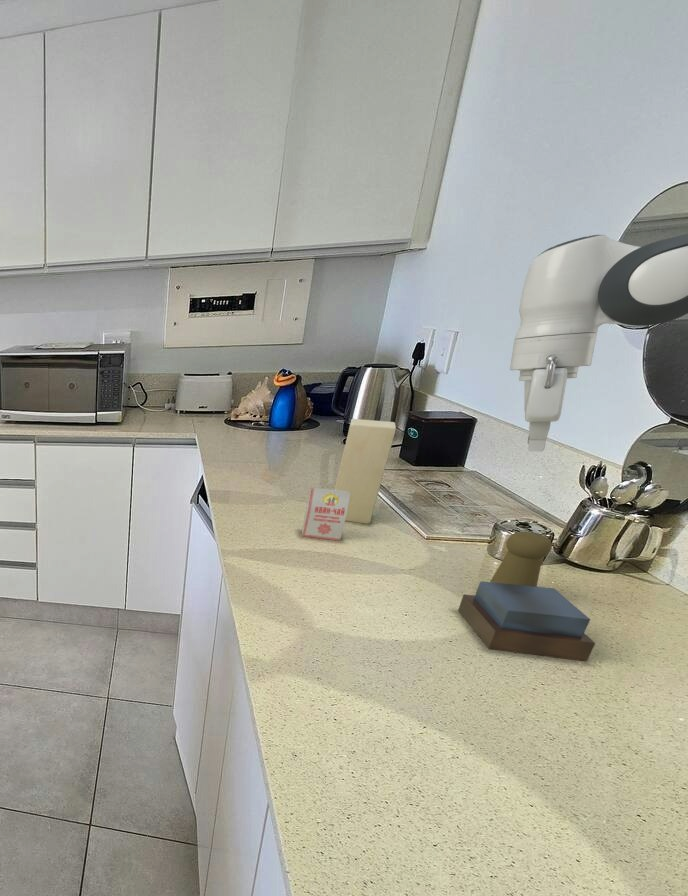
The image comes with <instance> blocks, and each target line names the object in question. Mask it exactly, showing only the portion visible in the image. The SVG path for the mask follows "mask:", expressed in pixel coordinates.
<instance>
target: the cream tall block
mask: <svg viewBox="0 0 688 896" xmlns="http://www.w3.org/2000/svg"><path fill="white" fill-rule="evenodd" d="M396 431H397V426H396V422H394V421H385V420H375V419H374V420H372V419H359V418H351V420H350V423H349V427H348V432H347V436H346V442H345V444H344V448H343V453H342V457H341V462H340V465H339V469H338V474H337V478H336V480H335V486H334V489H333V490H340V491H350V497H349V503H348V509H347V515H346V519H345V522H353V523H357V524H358V523H360V524H364V525H365V524H366V525H370V524H371V520H372V517H373V514H374V511H375V508H376V507H375V506H376V503H377V499H378V496H379V492H380V489H381V485H382V482H383V478H384V474H385V470H386V467H387V463H388V460H389V456H390V453H391V449H392V445H393V442H394V438H395V434H396Z"/></svg>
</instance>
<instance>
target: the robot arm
mask: <svg viewBox="0 0 688 896" xmlns="http://www.w3.org/2000/svg"><path fill="white" fill-rule="evenodd" d="M518 307H519V308H518V313H519V317H520V323H519V328H518V330H517V332H516V334H515V336H514V340H513V347H512V352H511V359H510V366H509V371H519V376H518V381H519V382H520V381H521V382H524V385H523V386H524V389H523V390H524V394H523V395H524V396H523V397H524V398H523V399H524V401H523V403H524V408H523V409H524V421H525V422H527V423H528V425H529V426H528V437H527V445H528V446H527V450H528V451H529V452H543V451H544V450H545V448H546V443H547V439H548V436H549V432H550V429H551V422H557V421H559V420H560V418H561V415H562V410H563V404H564V397H565V393H566V386H567V380H568V379H569V380H570V379H576V378H577V377H578V371H579V367H590V366H591V365H592V361H593V357H594V351H595V345H596V341H597V335H598V330H599V328H600V326H603V325H604V324H606V325H607V324H608V325H620V326H625V327H633V328H634V327H637V328H638V327H640V328H641V327H648V326H655V325H660V324H665V323H668V322H672V321H674V320H676V319H679V318H681V317H684V316H685V315H687V314H688V233H686V234H681V235H677V236H673V237H668V238H665V239H660V240H657V241H654V242H651V243H648V244H645V245H643V246H637V245H632V244H628V243H624V242H622V241H618V240H615V239H612V238H610V237H609V236H608V235H606V234H593V235H588V236H581V237H579V238H575V239H571V240H568V241H564V242H562V243H558V244H555V245H554V246H551V247H549V248H547V249H545V250H544V251H542V252H541V253H540V254H538V255H537V257H535V258H534V260H532V262H531V264H530V265H529V267H528V270H527V272H526V275H525V279H524V282H523V287H522V292H521V298H520V303H519V306H518Z"/></svg>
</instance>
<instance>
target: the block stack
mask: <svg viewBox="0 0 688 896" xmlns="http://www.w3.org/2000/svg"><path fill="white" fill-rule="evenodd" d="M457 611H458V613H459V614H460V615H461V616H462V618H464V620H465V621H466V622H467V624H468V625H469V626H470V627H471V629H472V630H473V631H474V633H476V635H477V636H478V637H479V639H480V640H481V641H482V642H483V644H484V645H485V646H486V647H487V648H488V649H489V650H495V651H504V652H510V653H511V652H512V653H520V654H527V655H533V656H534V655H535V656H544V657H550V658H557V659H566V660H573V661H580V662H581V661H582V662H588V660H589V657H590V656H591V654H592V652H593V650H594V648H595V646H596V642H595V641H594V640H592V638H591V637H589V635H587V634H586V633H585V632H586V630H587V628H588V626H589V624H590V621H591V618H589V617H588V616H587V615H586V614H585V613H584V612H583V611H581V610H580V609H579V608H578V607H577V606H576V605H574V604H573V603H572V602H571V601H570V600H568V598H566V597H565V596H564V595H562V593H560V592H559V591H558V590H557V589H556V588H554V587H545V586H544V587H543V586H537V587H535V586H525V585H514V584H504V583H494V582H490V581H483V580H480V581H479V584H478V586H477V589H476V591H475V595H473V594H464V593H463V595H462V598H461V601H460V604H459V606H458V609H457Z"/></svg>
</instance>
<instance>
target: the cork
mask: <svg viewBox="0 0 688 896" xmlns="http://www.w3.org/2000/svg"><path fill="white" fill-rule="evenodd" d="M505 543H506V544H505V545H506V550H507V552H506V554H505V556H504V557H503V559H502V561H501V562H500V564H499V566H498V567H497V569H496V571H495V573H494V574H493V576H492V578H491V580H490V581H489V582H494V583H504V584H514V585H525V586H535V587H538V582H539V578H540V572H541V567H542V562H543V558H546V557H547V556H548V555H549V554H550V552H551V551H552V548H553V544H552V541H551V539H550V538H548V537H547V536H545V535H543V534H539V533H535V532H531V531H517V532H513V534H511V535H510V536H509V537H508V538H507V539H506V542H505Z"/></svg>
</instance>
